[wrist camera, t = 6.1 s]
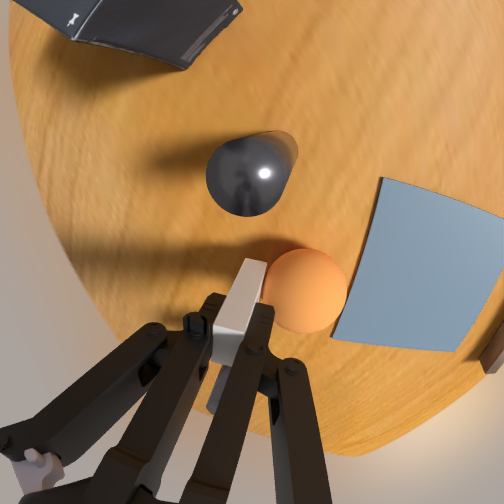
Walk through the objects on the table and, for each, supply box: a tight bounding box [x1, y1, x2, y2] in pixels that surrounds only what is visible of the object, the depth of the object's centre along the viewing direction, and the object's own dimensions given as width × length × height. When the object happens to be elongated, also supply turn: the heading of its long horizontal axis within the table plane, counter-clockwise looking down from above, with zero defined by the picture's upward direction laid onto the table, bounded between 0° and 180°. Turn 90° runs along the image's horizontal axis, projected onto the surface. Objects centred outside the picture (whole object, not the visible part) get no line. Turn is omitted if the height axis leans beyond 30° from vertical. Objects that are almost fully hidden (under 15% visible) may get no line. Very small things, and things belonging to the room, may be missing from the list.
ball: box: [262, 249, 347, 333], centre depth 17 cm, size 6×6×6 cm
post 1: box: [206, 364, 231, 415], centre depth 19 cm, size 3×3×9 cm
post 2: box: [206, 131, 298, 217], centre depth 12 cm, size 3×3×9 cm
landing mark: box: [332, 177, 504, 352], centre depth 18 cm, size 14×14×1 cm
